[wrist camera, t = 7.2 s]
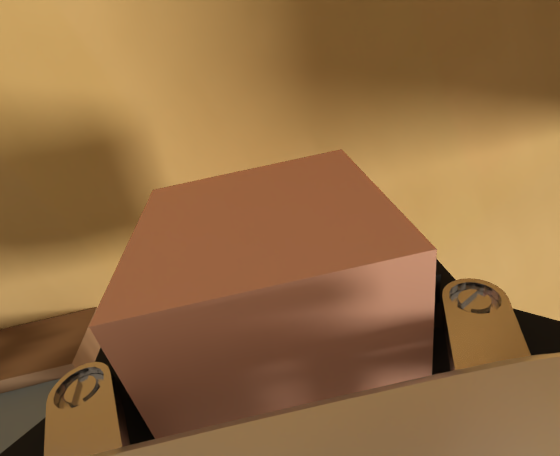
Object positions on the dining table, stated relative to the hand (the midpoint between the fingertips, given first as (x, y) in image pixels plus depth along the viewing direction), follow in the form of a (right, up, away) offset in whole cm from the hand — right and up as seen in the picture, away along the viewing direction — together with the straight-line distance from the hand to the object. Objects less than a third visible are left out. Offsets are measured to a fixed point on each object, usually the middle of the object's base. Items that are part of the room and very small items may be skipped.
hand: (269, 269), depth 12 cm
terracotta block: (0, +1, +1) cm, 1 cm away
